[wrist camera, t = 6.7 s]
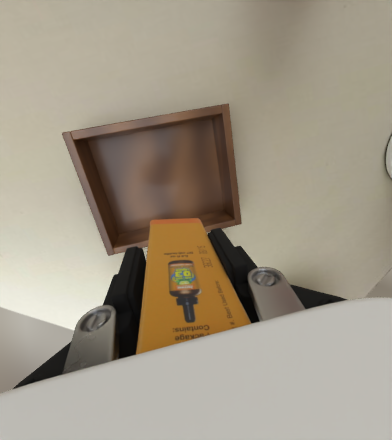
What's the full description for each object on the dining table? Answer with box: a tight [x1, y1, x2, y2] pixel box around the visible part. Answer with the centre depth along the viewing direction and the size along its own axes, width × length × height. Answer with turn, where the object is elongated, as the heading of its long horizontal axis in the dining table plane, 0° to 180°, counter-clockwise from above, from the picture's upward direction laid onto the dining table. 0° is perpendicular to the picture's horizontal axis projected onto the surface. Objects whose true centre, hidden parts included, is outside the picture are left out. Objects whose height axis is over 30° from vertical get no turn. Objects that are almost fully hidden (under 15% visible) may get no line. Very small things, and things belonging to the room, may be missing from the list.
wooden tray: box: [62, 104, 241, 256], centre depth 25 cm, size 17×14×5 cm
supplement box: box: [136, 218, 252, 355], centre depth 9 cm, size 3×3×10 cm
